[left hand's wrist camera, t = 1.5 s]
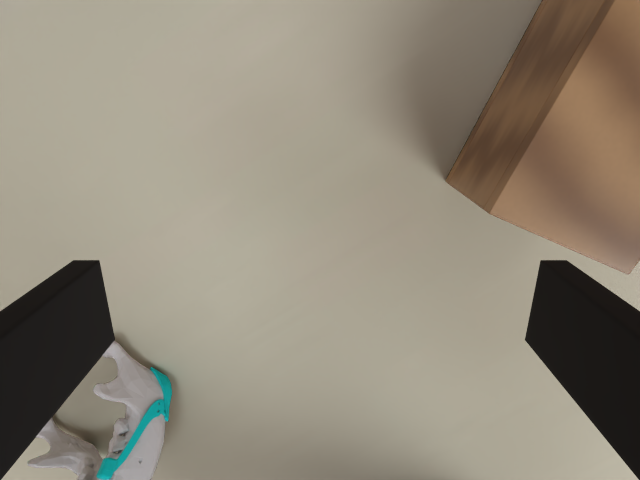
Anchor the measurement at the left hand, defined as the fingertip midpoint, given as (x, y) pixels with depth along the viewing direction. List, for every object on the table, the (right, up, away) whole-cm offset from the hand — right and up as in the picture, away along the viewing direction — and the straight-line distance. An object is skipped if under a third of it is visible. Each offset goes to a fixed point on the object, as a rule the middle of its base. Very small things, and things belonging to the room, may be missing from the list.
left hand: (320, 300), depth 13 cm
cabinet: (+19, +13, +19) cm, 30 cm away
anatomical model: (-20, -15, +30) cm, 39 cm away
